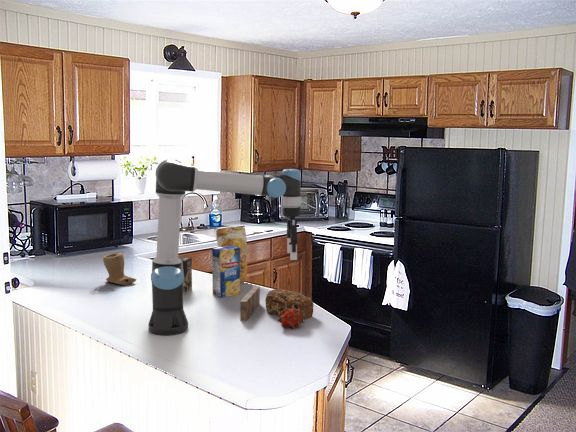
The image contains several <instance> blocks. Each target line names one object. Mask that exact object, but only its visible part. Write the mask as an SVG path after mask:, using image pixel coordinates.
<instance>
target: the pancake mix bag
mask: <svg viewBox="0 0 576 432" xmlns="http://www.w3.org/2000/svg"><path fill="white" fill-rule="evenodd" d="M215 234H216V236H215V237H216V242H217V247H224V246H231V245H232V246H235V247H239V248H240V283H244V282H246V281H247V280H248V242H247V235H246V234H247V233H246V227H244V226H243V225H239V226H233V227H232V226H228V227H221V228H217V230H216V231H215Z"/></svg>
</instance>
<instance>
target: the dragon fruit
mask: <svg viewBox="0 0 576 432" xmlns="http://www.w3.org/2000/svg"><path fill="white" fill-rule="evenodd" d="M304 316H305V313H304V312H303V311H302V309H296V308H295V307H293V309H291V308H290V309H289V308H288V309H286V311H283V312H282V314H281V316H279V318H278V320H277V322H278V323H281V324H280V327H282V328H286V329H289V328H291V327H292V329H293V330H294V329H296V328H298V327H299V325H302V324H305V320H306V318H305V317H304Z"/></svg>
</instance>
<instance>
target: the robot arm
mask: <svg viewBox="0 0 576 432" xmlns="http://www.w3.org/2000/svg"><path fill="white" fill-rule="evenodd" d="M155 169H156V170H155V178H156V179H155V194H156V195H157V196H158V198H159V199H158V215H157V235H156V236H157V239H156V241H157V242H156V256H155V257H154V258H152V262H151V274H150V281H151V292H152V293H151V294H152V295H151V296H152V297H151V298H152V299H151V300H152V311H151V314H150V319H149V321H148V326H147V327H148V331H149V333H151V334H153V335H158V336H171V335H178V334H182V333H184V332H186V331H188V330H189V321H188V319H187V316H186V313H185V310H184V295H183V273H182V271H181V264H182V261H181V260H180V259H179V257H180V256H179V249H180V248H179V247H180V245H179V244H180V226H181V209H182V208H181V207H182V198H183V197H184V196H185V195H186V192H195V191H197V190H200V191H210V192H211V191H212V192H221V193H234V194H245V195H255V196H266V197H270V198H281V197H282V206H283V207H282V216H284V217H287V219H286V225H287V226H286V237H287V238H286V246H287V247H286V248H287V249H286V251H287V252H286V253H287V254H290V255H289V256H290V257H289V259H290V261H297V260H298V243H299V242H298V220H297V219H296V217H300V216H301V215H302V212H301V211H302V208H301V206H302V205H301V204H302V202H301V201H302V200H303V198H301V196H302V195H301V193H302V192H301V191H302V190H301V189H302V188H301V187H302V186H301V185H302V177H301V170H299V169H297V168H287V169H286V168H285V169H283V170H282V172H281V174H257V175H255V174H247V173H246V174H244V173H236V172H227V171H226V172H225V171H216V170H215V171H214V170H205V169H199V168H197V166H195V165H187V164H183V163H182V162H181V161H179V160H178V159H173V158H169V159H165V160H163V161H161V162H160V163H159V164H158V166H157V167H156V168H155Z"/></svg>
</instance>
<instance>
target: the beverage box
mask: <svg viewBox="0 0 576 432" xmlns="http://www.w3.org/2000/svg"><path fill="white" fill-rule="evenodd" d="M211 250H212V252H211V253H212V254H211V255H212V256H211V258H212V259H211V260H212V261H211V262H212V266H211V267H212V271H211V272H212V273H211V274H212V278H211V279H212V295H213V296H217V297H218V298H224V297H225V298H226V297H230V296H235V295H239V294H241V282H240V248H239V247H235V246H232V245H231V246H224V247H218V246H217V247H212V249H211Z"/></svg>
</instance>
